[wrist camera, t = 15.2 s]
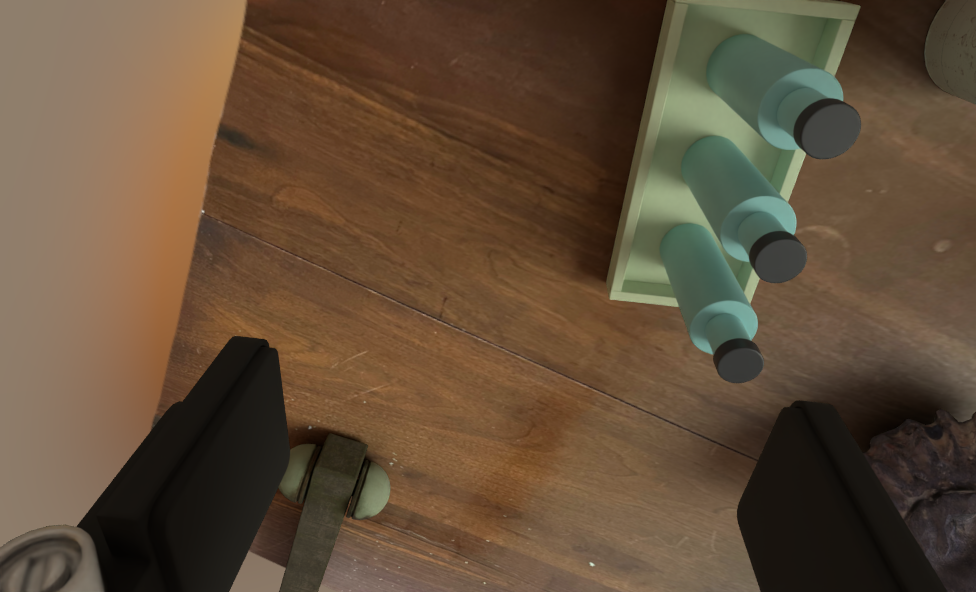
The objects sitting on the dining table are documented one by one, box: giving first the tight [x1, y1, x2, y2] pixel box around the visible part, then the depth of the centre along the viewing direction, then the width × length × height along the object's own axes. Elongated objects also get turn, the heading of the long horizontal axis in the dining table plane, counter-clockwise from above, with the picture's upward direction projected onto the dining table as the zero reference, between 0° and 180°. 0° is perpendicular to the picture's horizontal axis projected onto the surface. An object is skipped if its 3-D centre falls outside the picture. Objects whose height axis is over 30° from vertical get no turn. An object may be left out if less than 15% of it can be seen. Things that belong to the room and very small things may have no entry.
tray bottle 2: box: [681, 136, 807, 283], centre depth 36 cm, size 4×4×15 cm
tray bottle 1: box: [706, 34, 861, 159], centre depth 33 cm, size 4×4×15 cm
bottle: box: [660, 223, 764, 383], centre depth 40 cm, size 4×4×15 cm
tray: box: [606, 0, 861, 307], centre depth 42 cm, size 22×11×3 cm, turn 175°
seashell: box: [863, 409, 976, 592], centre depth 48 cm, size 20×13×15 cm
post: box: [278, 433, 390, 592], centre depth 65 cm, size 11×6×30 cm
